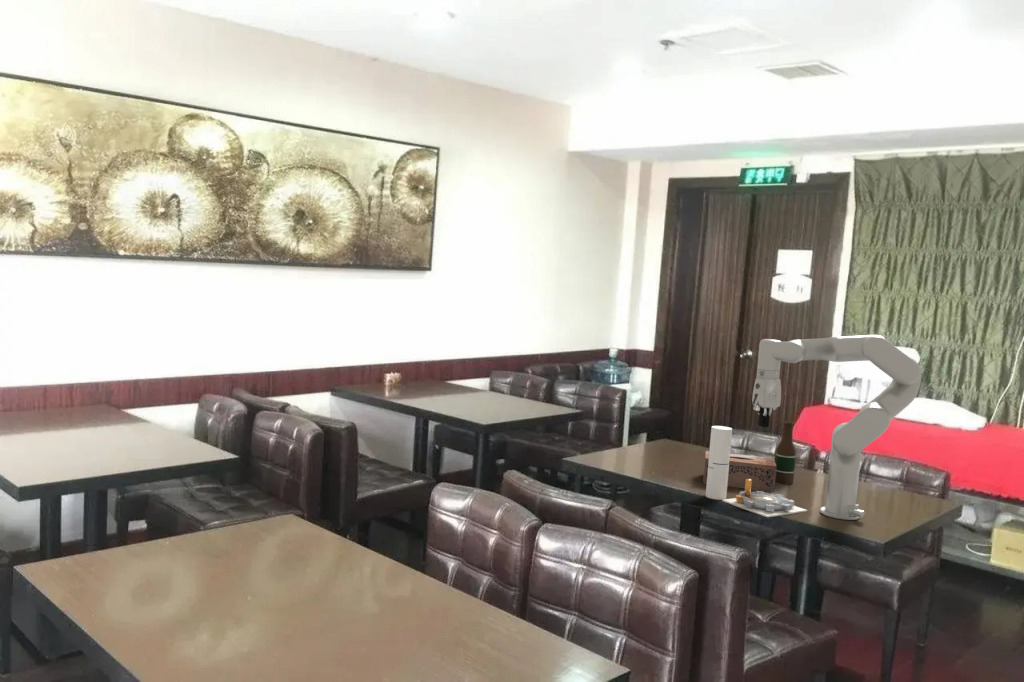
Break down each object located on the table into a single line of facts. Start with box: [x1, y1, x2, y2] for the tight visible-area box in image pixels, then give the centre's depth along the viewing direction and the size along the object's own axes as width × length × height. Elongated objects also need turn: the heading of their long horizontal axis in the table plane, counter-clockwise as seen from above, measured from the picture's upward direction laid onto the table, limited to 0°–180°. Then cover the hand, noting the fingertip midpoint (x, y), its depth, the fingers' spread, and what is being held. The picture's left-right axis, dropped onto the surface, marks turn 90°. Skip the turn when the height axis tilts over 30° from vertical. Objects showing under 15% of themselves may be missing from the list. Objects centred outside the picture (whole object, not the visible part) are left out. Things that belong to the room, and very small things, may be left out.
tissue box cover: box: [702, 450, 776, 493], centre depth 316 cm, size 26×14×10 cm, turn 77°
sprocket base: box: [722, 497, 808, 518], centre depth 285 cm, size 20×20×1 cm
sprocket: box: [735, 479, 795, 512], centre depth 284 cm, size 19×19×8 cm
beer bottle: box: [774, 420, 797, 485], centre depth 322 cm, size 8×8×24 cm
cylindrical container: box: [705, 425, 733, 501], centre depth 292 cm, size 7×7×25 cm
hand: (763, 426), depth 288 cm, fingers closed
